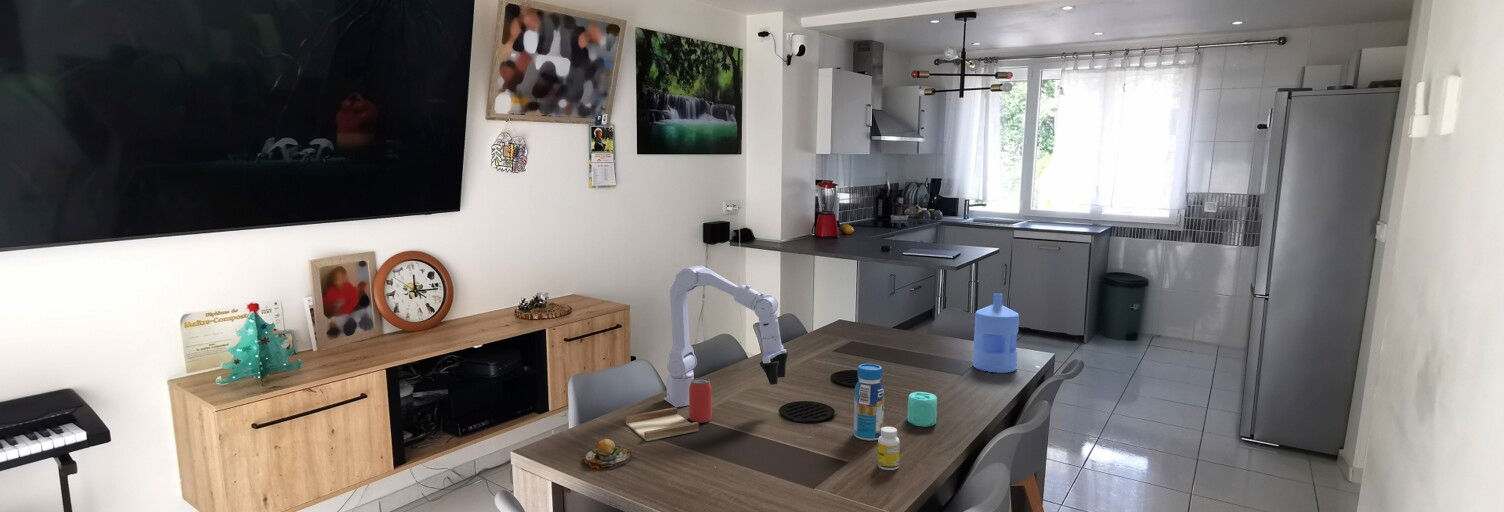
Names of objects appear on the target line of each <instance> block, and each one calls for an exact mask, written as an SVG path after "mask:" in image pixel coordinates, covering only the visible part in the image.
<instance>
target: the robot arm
mask: <svg viewBox="0 0 1504 512" xmlns="http://www.w3.org/2000/svg"><path fill="white" fill-rule="evenodd" d="M707 286H711V287H713V288H715V289H718V290H720V291H721V292H724V293H726V294H728V295H731V296H732V297H733V300H734V302H735V303H738V304H739V305H742V306H744V307H745V308H746V309H747V308H748V309H749V310H751V311H753V312H754V314H755V316H757V317H758V322H759V330H760V337H761V344H762V350H763V352H762V354H763V355H762V356H761V357H762V360H761V361H760V362H759V366H760V367H761V369H762V370H763V372H764V373H765V375H766V378H767V380H768V382H769V384H770V385H778V382H779V381H778V380H779V379H780V378H785V377H786V366H787V365H786V364H787V360H788V356H789V352H788V351H787V349H785V348H784V347H785V346H784V345H783V344H782V338H781V331H780V324H779V319H778V312H777V311H778V308H779V303H778V300H777V299H776V298H775V297H774V296H772V295H770V294H768V295H767V294H765V292H759V291H757V290H755V289H753V288H752V285H750V284H746V285H745V284H741V285H738V284H736V283H734V282H732V281H730V280H729V279H727V278H725V277H724V276H721V275H720V274H718V273H716V272H715V271H714V270H712V269H710V268H708V267H705V266H704V265H701V264H695V265H693V266H691V267H687V268H686V267H685V268H682V269H681V270H680V271H678V273H676V275H675V279H674V281H673V284H672V285H671V287H670V289H669V298H670V299H669V301H670V302H669V303H670V315H671V317H670V319H671V335H672V348H671V349H670V351H669V353H668V354H669V356H668V357H669V359H668V362H667V364H666V368H667V369H666V370H667V371H668V373H669V375H668V376H667V378H666V397H664V398H663V399H664V400H665V402H668V403H669V404H671V405H672V406H674V407H676V408H681V407H686V406H689V387H690V384H691V380H692V379H695V378H694V376H695V375H694V369H695V368H696V366H697V364H698V363H697V362H698V360H697V357H696V355H695V352H694V347H693V345H691V341H690V338H691V337H690V319H689V318H690V317H689V301H688V296H689V295H690V294H691V292H692V291H693V290H695V289H696V288H698V287H707ZM778 378H779V379H778Z"/></svg>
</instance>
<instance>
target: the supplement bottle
mask: <svg viewBox="0 0 1504 512" xmlns="http://www.w3.org/2000/svg"><path fill="white" fill-rule="evenodd" d="M881 435H882V436H880V437H879V438H878V440H877V460H876V461H877V467H878V468H879V469H881V470H884V471H895V470H897V469H899V467H900V446H901V445H900V438H899V437H898V429H897V428H895V427H893V426H883V428H881Z"/></svg>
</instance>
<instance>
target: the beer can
mask: <svg viewBox="0 0 1504 512" xmlns="http://www.w3.org/2000/svg"><path fill="white" fill-rule="evenodd" d="M710 381H711V379H708V378H706V377H705V378H704V377H697V378H694V379H692V380H691V384H690V387H689V405H688V407H689V408H688V411H689V421H691V422H692V423H694V422H698V423H699V424H701V423H703V424H704V423H708V422H709V421H712V415H713V413H712V410H713V408H712V407H713V406H712V404H713V403H712V402H713V401H712V400H713V399H712V392H713V391H712V390H713V389H712V388H713V387H712V385H711V382H710Z"/></svg>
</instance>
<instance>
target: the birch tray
mask: <svg viewBox="0 0 1504 512" xmlns="http://www.w3.org/2000/svg"><path fill="white" fill-rule="evenodd" d="M624 418H625V425H627V426H628V427H629V428H630V429H631V430H632V431H634V432H635V433H636V434H637V435H638V436H640V437H641V439H643V440H644V441H646V442H649V441H655V440H660V439H664V438H669V437H674V436H680V435H685V434H690V433H694V432H696V433H697V432H699V431H700V423H698V422H690V421H688V420H687V419H685V418H684V417H683V416H681V415H680V414H678V407H675V406H674V407H670V408H664V409H658V410H654V411H653V410H652V411H646V412H642V413H641V412H640V413H635V414H629V415H625V416H624Z"/></svg>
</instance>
